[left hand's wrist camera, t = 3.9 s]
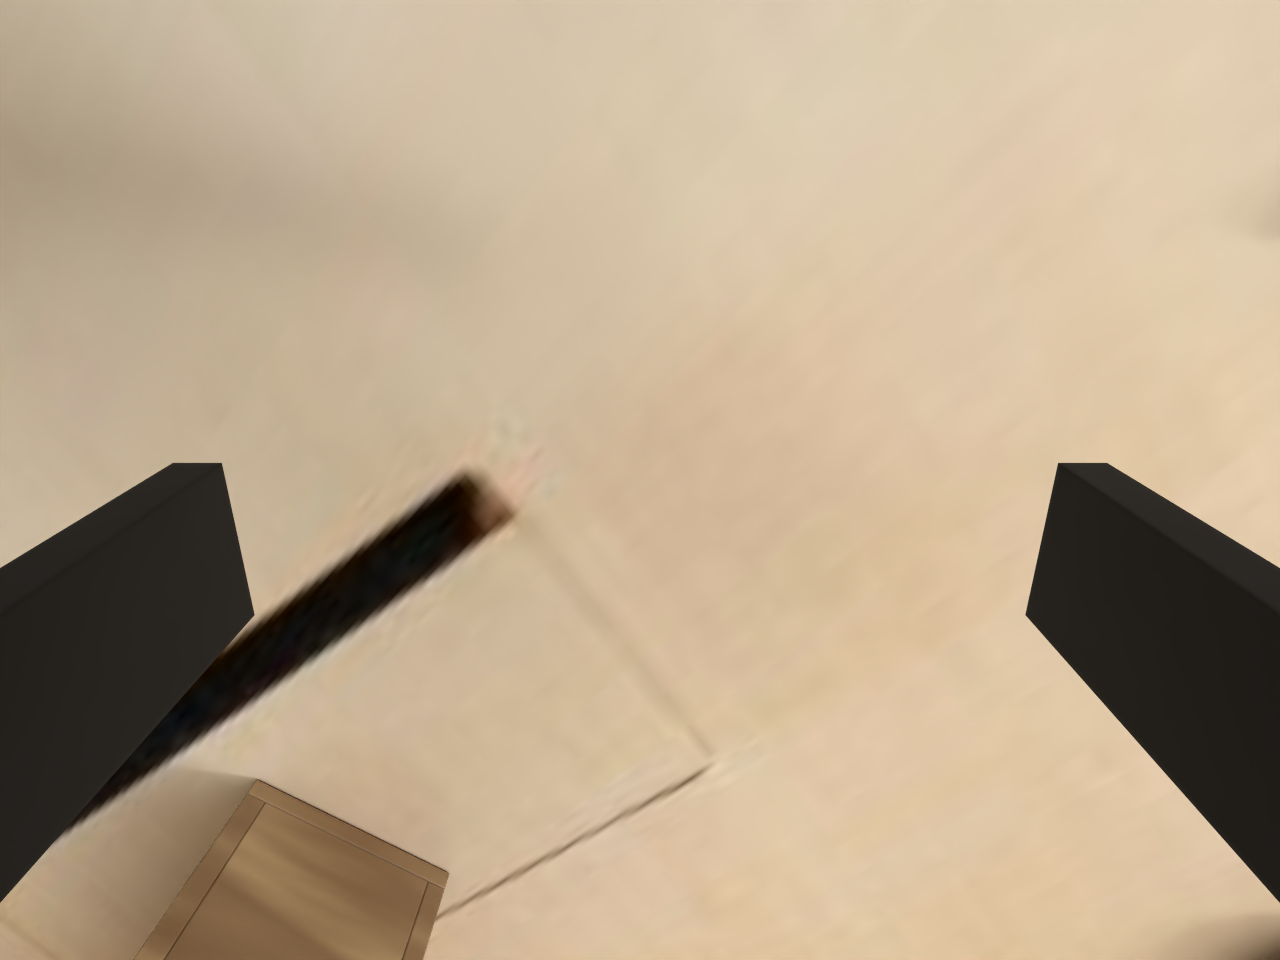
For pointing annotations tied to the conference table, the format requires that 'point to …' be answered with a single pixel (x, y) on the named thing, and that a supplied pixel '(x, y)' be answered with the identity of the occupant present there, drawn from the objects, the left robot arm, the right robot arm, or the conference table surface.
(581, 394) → the conference table surface
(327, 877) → the chest
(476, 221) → the conference table surface
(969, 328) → the conference table surface
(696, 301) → the conference table surface
